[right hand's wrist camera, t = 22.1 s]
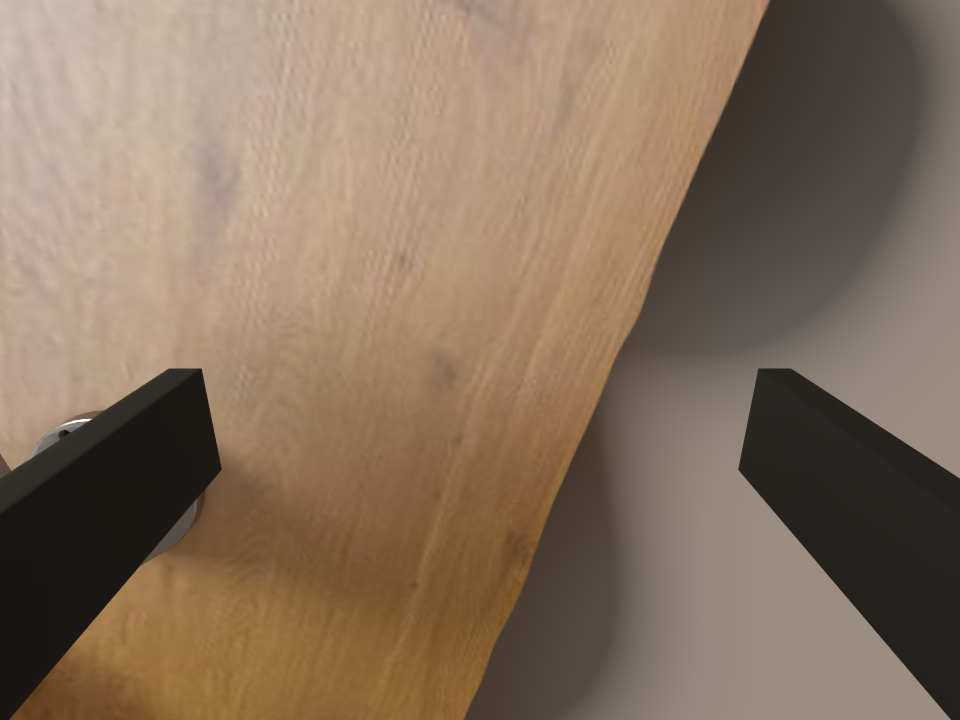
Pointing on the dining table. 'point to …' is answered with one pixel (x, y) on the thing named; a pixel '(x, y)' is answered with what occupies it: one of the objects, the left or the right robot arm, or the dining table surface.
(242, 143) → the dining table surface
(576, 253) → the dining table surface
